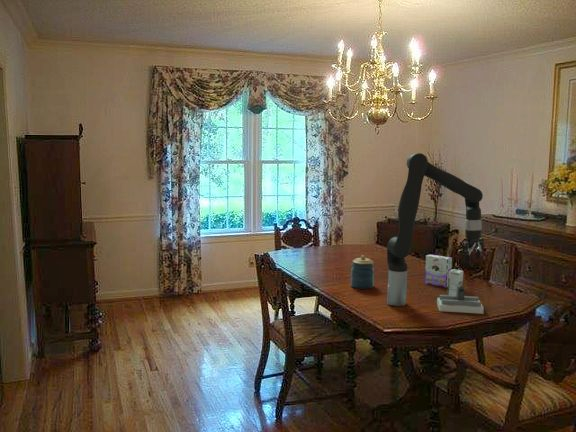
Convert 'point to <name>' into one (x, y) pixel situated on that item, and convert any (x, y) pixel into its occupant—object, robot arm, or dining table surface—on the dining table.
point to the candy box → (437, 270)
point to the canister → (362, 273)
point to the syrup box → (454, 281)
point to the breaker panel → (459, 308)
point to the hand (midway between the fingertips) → (473, 260)
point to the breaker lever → (460, 292)
